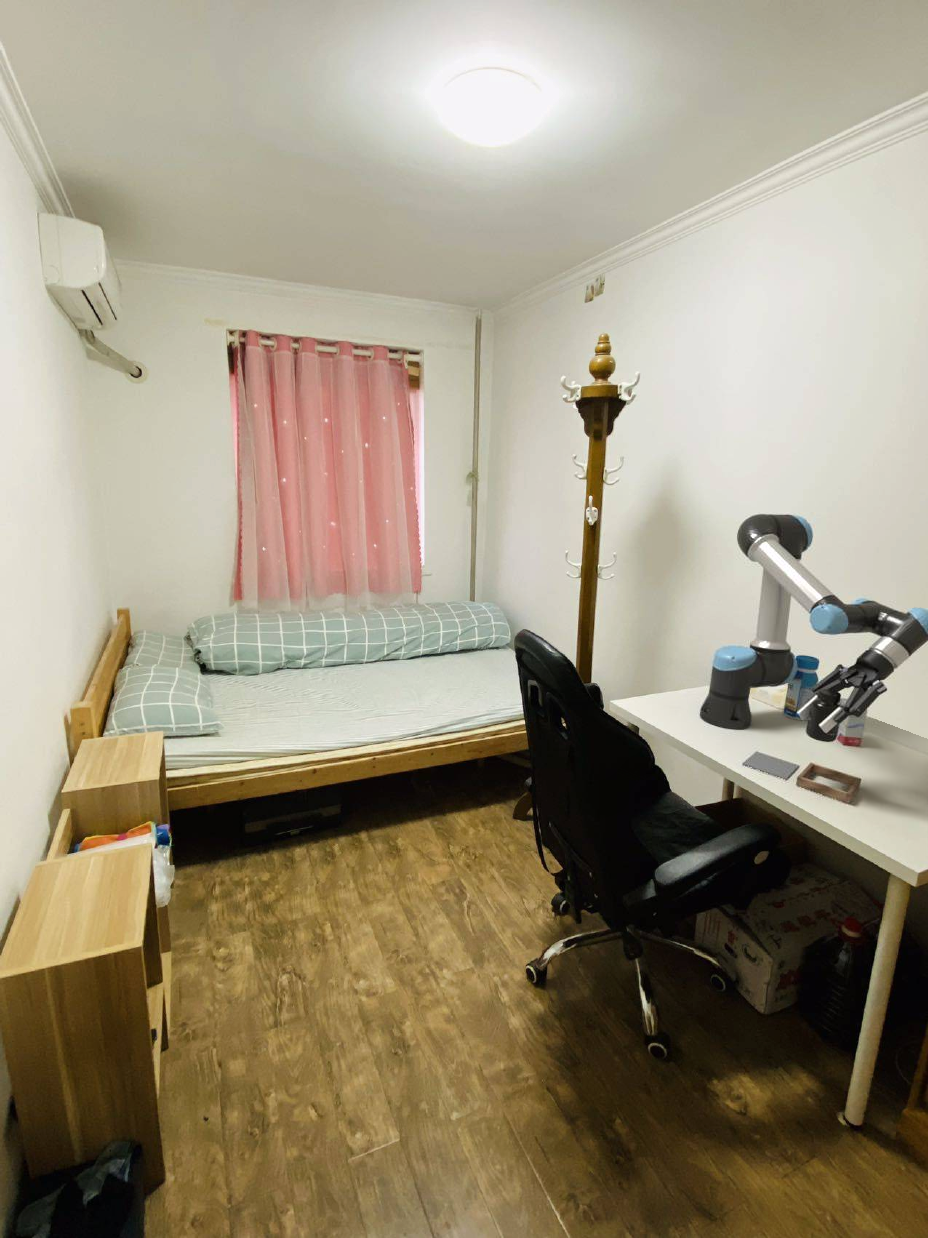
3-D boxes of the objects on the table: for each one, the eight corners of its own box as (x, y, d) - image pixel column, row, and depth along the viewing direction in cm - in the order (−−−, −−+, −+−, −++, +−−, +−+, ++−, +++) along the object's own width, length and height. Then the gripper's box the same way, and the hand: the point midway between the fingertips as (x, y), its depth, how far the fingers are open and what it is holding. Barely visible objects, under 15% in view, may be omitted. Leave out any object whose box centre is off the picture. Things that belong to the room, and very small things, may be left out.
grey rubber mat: (741, 764, 162) (742, 763, 162) (756, 752, 170) (756, 751, 169) (785, 780, 154) (786, 778, 154) (798, 766, 162) (799, 765, 162)
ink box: (860, 747, 176) (868, 709, 173) (842, 745, 177) (850, 707, 174) (848, 735, 184) (856, 699, 182) (831, 733, 185) (838, 697, 183)
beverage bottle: (808, 723, 192) (820, 663, 187) (779, 716, 197) (790, 657, 192) (813, 716, 198) (824, 658, 194) (785, 709, 204) (795, 652, 199)
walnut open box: (795, 785, 152) (797, 776, 151) (809, 771, 160) (810, 762, 159) (848, 804, 144) (850, 794, 143) (859, 787, 152) (861, 778, 152)
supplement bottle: (799, 730, 155) (808, 687, 152) (824, 730, 155) (833, 687, 152) (816, 743, 148) (826, 697, 145) (842, 742, 149) (852, 697, 146)
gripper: (923, 683, 141) (849, 750, 142) (856, 656, 159) (790, 715, 160) (910, 662, 138) (834, 730, 139) (842, 637, 157) (776, 697, 158)
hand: (811, 722), depth 150 cm, fingers closed on supplement bottle, 7 cm apart
